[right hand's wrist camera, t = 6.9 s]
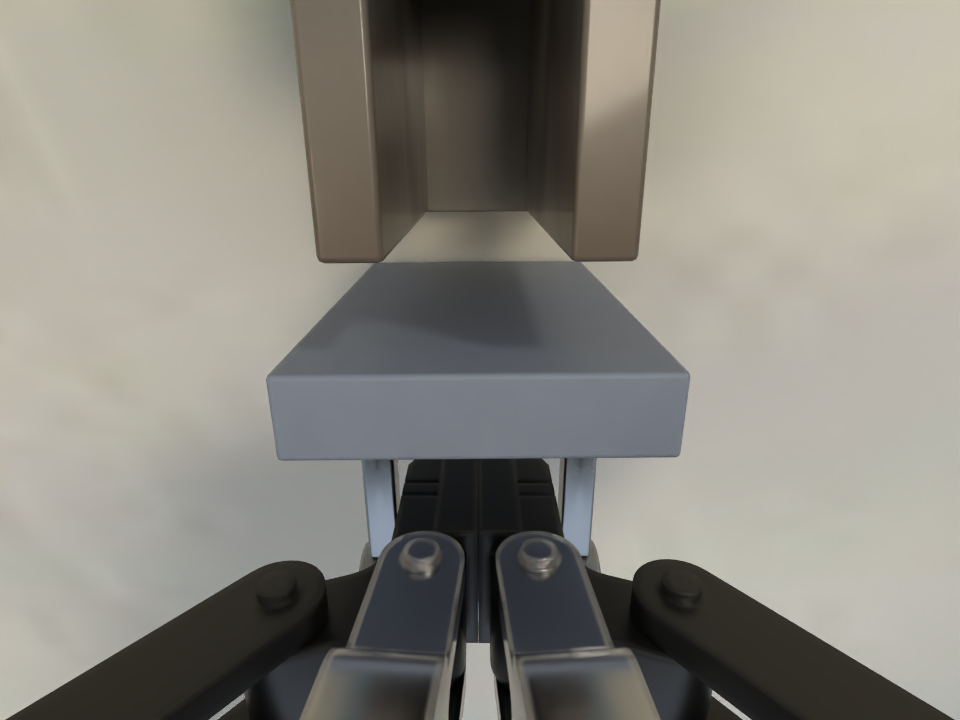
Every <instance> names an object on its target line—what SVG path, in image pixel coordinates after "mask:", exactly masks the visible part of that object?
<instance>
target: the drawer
mask: <svg viewBox="0 0 960 720" xmlns="http://www.w3.org/2000/svg"><path fill="white" fill-rule="evenodd" d="M660 3H661V0H290V5H291V14H292V24H293V33H294V43H295V52H296V62H297V72H298V81H299V91H300V100H301V110H302V120H303V129H304V139H305V148H306V158H307V168H308V177H309V187H310V196H311V206H312V216H313V225H314V235H315V244H316V254H317V258H318V260H319V261H320V262H323V263H375V264H373V265H372V266H371V267H370V268H369V269H368V271H367V272H366V273H365V274H364V275H363V276H362V277H361V278H360V279H359V280H358V281H357V282H356V283H355V284H354V285H353V286H352V287H351V288H350V289H349V291H348V292H347V293H346V294H345V295H344V296H343V297H342V298H341V299H340V300H339V301H338V302H337V303H336V304H335V305H334V306H333V307H332V308H331V309H330V311H329V312H328V313H327V314H326V315H325V316H324V317H323V318H322V319H321V320H320V321H319V322H318V323H317V324H316V325H315V326H314V327H313V328H312V329H311V330H310V332H309V333H308V334H307V335H306V336H305V337H304V338H303V339H302V340H301V341H300V342H299V343H298V344H297V345H296V346H295V347H294V348H293V349H292V350H291V352H290V353H289V354H288V355H287V356H286V357H285V358H284V359H283V360H282V361H281V362H280V363H279V364H278V365H277V366H276V367H275V368H274V369H273V370H272V372H271V373H270V374H269V375H268V376H267V379H266V382H267V389H268V396H269V402H270V409H271V416H272V423H273V430H274V437H275V444H276V451H277V457H278V459H279V460H362V471H363V482H364V494H365V505H366V516H367V528H368V539H369V542H367V543H366V545H365V547H364V550H363V553H362V557H361V562H360V568H359V571H361V570H364V569H366V568H368V567H369V566H371V565H373V564H374V563H376V562H377V561H378V558H379V555H380V553H381V551H382V550H383V549H384V547H385V546H386V545H387V544H388V543H389V542H391V540H392V536H393V531H394V527H395V522H396V518H397V514H398V509H399V505H400V490H399V474H398V460H399V459H517V458H560V473H559V494H558V511H559V515H560V520H561V524H562V529H563V533H564V538H565V539H566V540H568V541H569V542H571V543H572V544H573V545H574V546H575V547H576V548H577V550H578V551H579V553H580V555H581V558H582V560H583V563H584V565H585V566H586V567H588V568H590V569H592V570H594V571H597V572H599V573H601V569H600V563H599V558H598V553H597V550H596V547H595V545H594V543H593V541H592V540H591V528H592V514H593V500H594V487H595V473H596V459H597V458H636V457H677V456H679V455H680V451H681V443H682V436H683V428H684V420H685V412H686V405H687V397H688V389H689V381H690V375H689V372H688V371H687V370H686V369H685V368H684V367H683V366H682V365H681V364H680V363H679V362H678V361H677V360H676V359H675V358H674V357H673V356H672V355H671V354H670V353H669V352H668V351H667V350H666V349H665V348H664V347H663V346H662V345H661V344H660V343H659V341H658V340H657V339H656V338H655V337H654V336H653V335H652V334H651V333H650V332H649V331H648V330H647V329H646V328H645V327H644V326H643V325H642V324H641V323H640V322H639V321H638V320H637V319H636V318H635V317H634V316H633V315H632V314H631V313H630V312H629V311H628V310H627V309H626V308H625V307H624V306H623V305H622V304H621V303H620V302H619V301H618V300H617V299H616V298H615V297H614V296H613V295H612V294H611V293H610V291H609V290H608V289H607V288H606V287H605V286H604V285H603V284H602V283H601V282H600V281H599V280H598V279H597V278H596V277H595V276H594V275H593V274H592V273H591V272H590V271H589V270H588V269H587V268H586V267H585V266H584V265H583V264H582V263H581V262H587V261H633V260H636V258H637V256H638V251H639V240H640V228H641V217H642V206H643V194H644V183H645V172H646V161H647V149H648V138H649V127H650V116H651V104H652V93H653V82H654V70H655V59H656V48H657V37H658V25H659V14H660ZM484 211H528V212H529V213H530V215H531V216H532V217H533V218H534V219H535V220H536V221H537V222H538V223H539V224H540V225H541V227H542V228H543V229H544V230H545V231H546V232H547V233H548V234H549V235H550V236H551V237H552V238H553V240H554V241H555V242H556V243H557V244H558V245H559V246H560V247H561V248H562V249H563V250H564V252H565V253H566V254H567V255H568V256H569V257H570V258H571V259H572V260H574V261H567V262H429V263H379V262H381V261H383V260H384V259H385V258H386V256H387V255H388V254H389V253H390V252H391V251H392V250H393V249H394V247H395V246H396V245H397V244H398V243H399V242H400V241H401V240H402V239H403V237H404V236H405V235H406V234H407V233H408V232H409V231H410V230H411V228H412V227H413V226H414V225H415V224H416V223H417V222H418V221H419V220H420V218H421V217H422V216H423V215H424V214H425V213H426V212H484ZM478 627H479V593H478Z"/></svg>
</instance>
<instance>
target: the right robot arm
mask: <svg viewBox="0 0 960 720" xmlns="http://www.w3.org/2000/svg"><path fill="white" fill-rule="evenodd" d="M478 593H479V643H490V662H491V668H492V671H493V673H494V690H495V698H496V707H497V716H498V720H742V719H741V718H740V717H738V716H737V715H736V714H734V713H733V712H732V711H731V710H729V709H728V708H727V707H725V706H724V705H723V704H722V703H720V702H719V701H718V700H716V699H715V698H714V697H712V696H711V695H712V690H714V691H715V692H716V693H718V694H719V695H720V696H721V697H723V698H724V699H725V700H727V701H728V702H729V703H731V704H732V705H733V706H735V707H736V708H737V709H739V710H740V711H741V712H742V713H744V714H745V715H746V716H748V717H749V718H750V719H752V720H954V719H952V718H951V717H949V716H947V715H946V714H944V713H942V712H941V711H939V710H937V709H936V708H934V707H932V706H931V705H929V704H927V703H926V702H924V701H922V700H921V699H919V698H917V697H916V696H914V695H912V694H911V693H909V692H907V691H906V690H904V689H902V688H901V687H899V686H897V685H896V684H894V683H892V682H891V681H889V680H887V679H886V678H884V677H882V676H881V675H879V674H878V673H876V672H874V671H873V670H871V669H869V668H868V667H866V666H864V665H863V664H861V663H859V662H858V661H856V660H854V659H853V658H851V657H849V656H848V655H846V654H844V653H843V652H841V651H839V650H838V649H836V648H834V647H833V646H831V645H829V644H828V643H826V642H824V641H823V640H821V639H819V638H818V637H816V636H814V635H813V634H811V633H809V632H808V631H806V630H804V629H803V628H801V627H799V626H798V625H796V624H794V623H793V622H791V621H789V620H788V619H786V618H784V617H783V616H781V615H779V614H778V613H776V612H774V611H773V610H771V609H769V608H768V607H766V606H764V605H763V604H761V603H759V602H758V601H756V600H754V599H753V598H751V597H749V596H748V595H746V594H744V593H743V592H741V591H739V590H738V589H736V588H734V587H733V586H731V585H729V584H728V583H726V582H724V581H723V580H721V579H719V578H718V577H716V576H714V575H713V574H711V573H709V572H708V571H706V570H704V569H702V568H700V567H698V566H696V565H693V564H691V563H687V562H684V561H679V560H671V559H662V560H655V561H651V562H648V563H646V564H644V565H642V566H641V567H640V568H639V569H638V570H637V571H636V573H635V575H634V578H633V581H630V580H626V579H621V578H617V577H613V576H609V575H605V574H602V573H599V572H597V571H594V570H592V569H590V568H588V567H586V566H585V565H584V563H583V560H582V558H581V555H580V553H579V551H578V550H577V548H576V547H575V546H574V545H573V544H572V543H571V542H569V541H568V540H566V539H565V538H564V533H563V529H562V524H561V520H560V515H559V511H558V506H557V502H556V497H555V492H554V488H553V483H552V479H551V474H550V470H549V465H548V464H547V463H546V462H545V461H544V460H543V459H542V458H517V459H414V460H413V461H412V462H411V463H410V464H409V466H408V470H407V475H406V479H405V483H404V488H403V492H402V496H401V501H400V505H399V509H398V514H397V518H396V522H395V527H394V531H393V536H392V540H391V542H389V543H388V544H387V545H386V546H385V547H384V549H383V550H382V551H381V553H380V555H379V558H378V561H377V562H376V563H374V564H373V565H371V566H369V567H368V568H366V569H364V570H361V571H359V572H356V573H353V574H350V575H346V576H342V577H338V578H334V579H329V580H325V579H324V576H323V574H322V572H321V571H320V570H319V569H318V568H317V567H315V566H313V565H312V564H309V563H306V562H302V561H281V562H275V563H272V564H268V565H265V566H263V567H261V568H258V569H256V570H255V571H253V572H251V573H249V574H248V575H246V576H244V577H243V578H241V579H239V580H238V581H236V582H234V583H233V584H231V585H229V586H228V587H226V588H224V589H223V590H221V591H219V592H218V593H216V594H214V595H213V596H211V597H209V598H208V599H206V600H204V601H203V602H201V603H199V604H198V605H196V606H194V607H193V608H191V609H189V610H188V611H186V612H184V613H183V614H181V615H179V616H178V617H176V618H174V619H173V620H171V621H169V622H168V623H166V624H164V625H163V626H161V627H159V628H158V629H156V630H154V631H153V632H151V633H149V634H148V635H146V636H144V637H143V638H141V639H139V640H138V641H136V642H134V643H133V644H131V645H129V646H128V647H126V648H124V649H123V650H121V651H119V652H118V653H116V654H114V655H113V656H111V657H109V658H108V659H106V660H104V661H103V662H101V663H99V664H98V665H96V666H94V667H93V668H91V669H89V670H88V671H86V672H84V673H83V674H81V675H79V676H78V677H76V678H74V679H73V680H71V681H69V682H68V683H66V684H64V685H63V686H61V687H59V688H58V689H56V690H54V691H53V692H51V693H49V694H48V695H46V696H44V697H43V698H41V699H39V700H38V701H36V702H34V703H33V704H31V705H29V706H28V707H26V708H24V709H23V710H21V711H19V712H18V713H16V714H14V715H13V716H11V717H9V718H8V719H6V720H209V719H210V718H211V717H212V716H214V715H215V714H216V713H218V712H219V711H220V710H222V709H223V708H224V707H226V706H227V705H228V704H230V703H231V702H232V701H233V700H235V699H236V698H237V697H239V696H240V695H241V694H243V693H244V695H245V699H244V700H243V701H241V702H240V703H239V704H237V705H236V706H235V707H233V708H232V709H231V710H230V711H228V712H227V713H226V714H224V715H223V716H222V717H221V718H219V719H218V720H462V717H463V708H464V700H465V691H466V643H478Z"/></svg>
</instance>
